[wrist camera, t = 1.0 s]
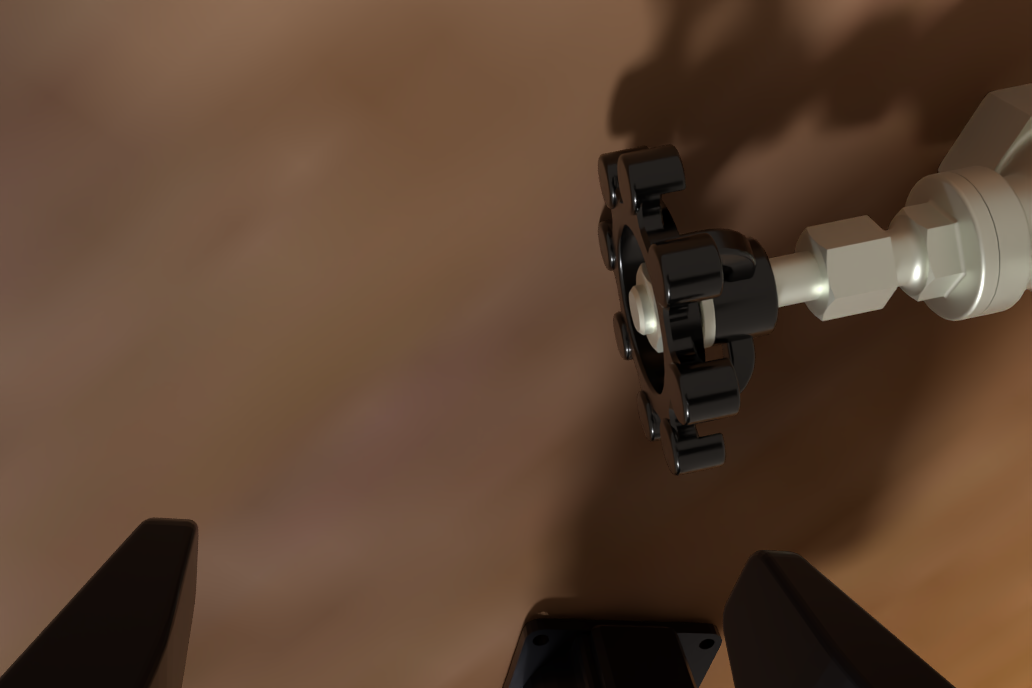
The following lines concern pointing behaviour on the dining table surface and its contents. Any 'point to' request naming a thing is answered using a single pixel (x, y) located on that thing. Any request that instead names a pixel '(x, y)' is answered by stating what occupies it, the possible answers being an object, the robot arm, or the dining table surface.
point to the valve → (804, 269)
